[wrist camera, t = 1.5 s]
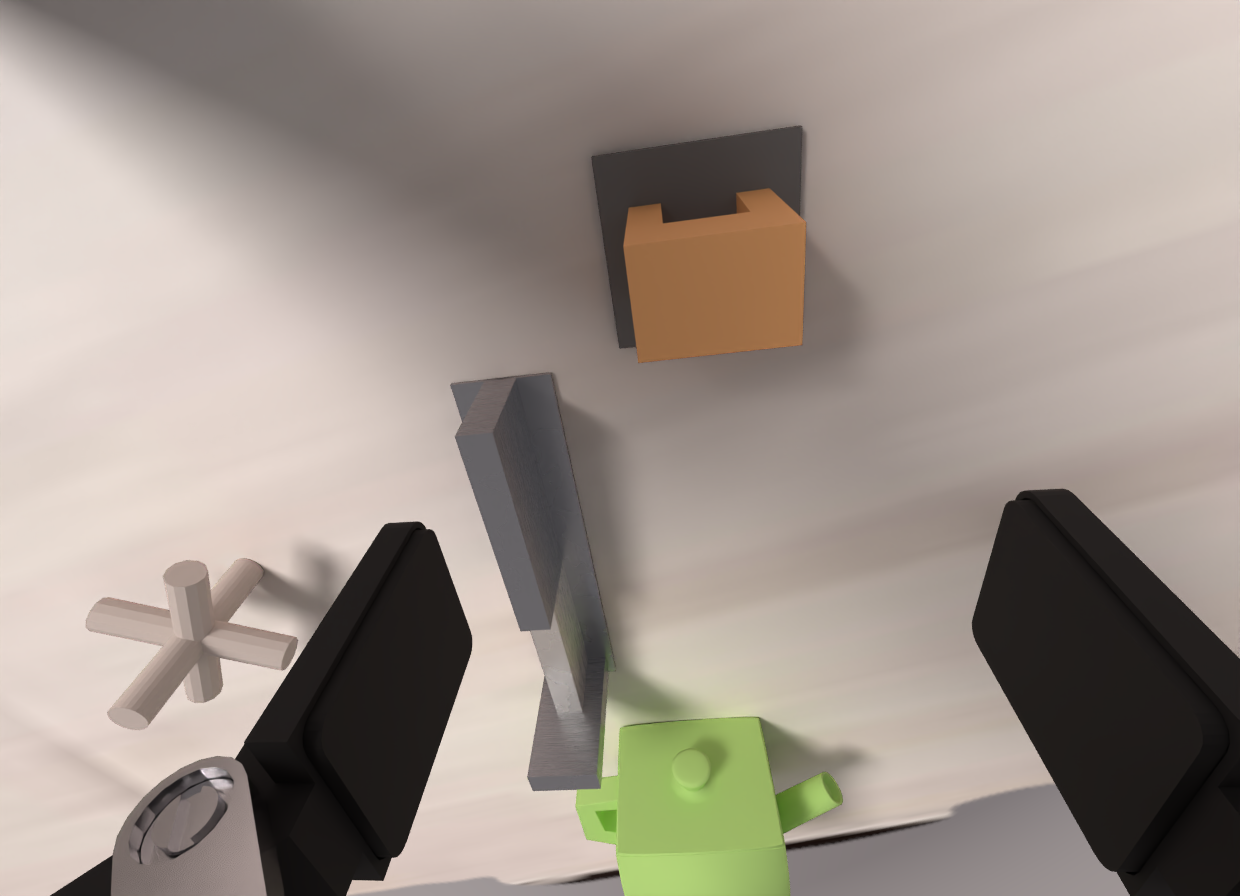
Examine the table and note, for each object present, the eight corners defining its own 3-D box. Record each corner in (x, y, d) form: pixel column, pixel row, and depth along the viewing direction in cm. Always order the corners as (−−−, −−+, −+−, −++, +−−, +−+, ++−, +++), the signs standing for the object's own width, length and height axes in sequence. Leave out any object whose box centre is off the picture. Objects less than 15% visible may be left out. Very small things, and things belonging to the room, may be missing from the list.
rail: (451, 383, 29) (391, 478, 22) (550, 372, 28) (520, 466, 21) (545, 672, 41) (524, 791, 34) (615, 668, 40) (609, 788, 33)
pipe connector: (332, 530, 34) (229, 678, 26) (328, 637, 39) (242, 789, 31) (152, 488, 33) (-18, 629, 25) (173, 604, 38) (40, 753, 30)
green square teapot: (823, 691, 41) (869, 834, 33) (821, 772, 46) (861, 914, 38) (575, 710, 43) (561, 850, 35) (598, 787, 48) (590, 925, 40)
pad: (592, 156, 23) (591, 157, 23) (799, 125, 22) (802, 126, 22) (619, 345, 27) (619, 348, 27) (794, 325, 26) (796, 328, 26)
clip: (628, 207, 24) (623, 246, 18) (769, 188, 23) (805, 222, 18) (640, 303, 26) (638, 362, 20) (769, 287, 25) (802, 344, 20)
